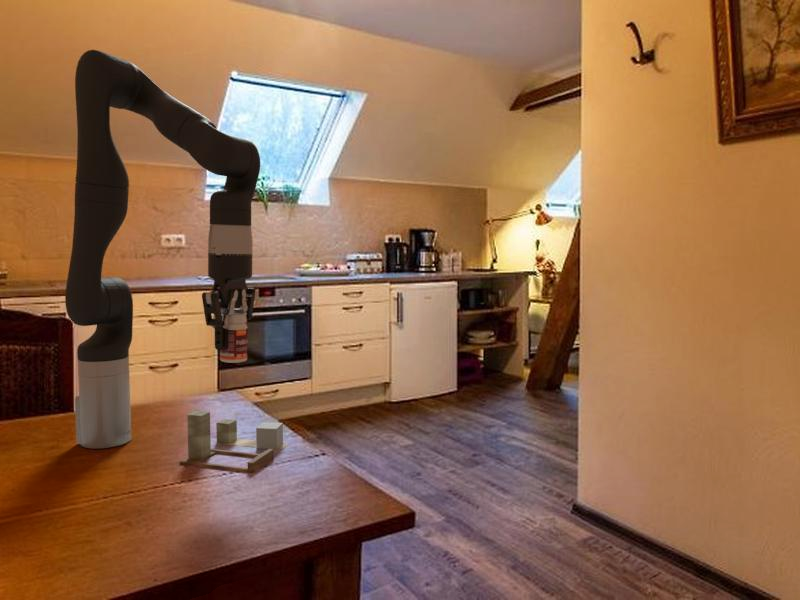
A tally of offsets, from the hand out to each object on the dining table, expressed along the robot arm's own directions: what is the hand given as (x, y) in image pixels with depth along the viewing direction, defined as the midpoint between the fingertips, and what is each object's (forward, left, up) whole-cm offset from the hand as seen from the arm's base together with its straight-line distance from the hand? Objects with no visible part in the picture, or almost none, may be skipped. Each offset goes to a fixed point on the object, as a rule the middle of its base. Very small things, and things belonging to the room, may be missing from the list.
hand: (229, 346), depth 108 cm
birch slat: (-1, +9, -22) cm, 24 cm away
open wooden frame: (0, -1, -22) cm, 22 cm away
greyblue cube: (+3, +9, -21) cm, 23 cm away
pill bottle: (+1, 0, -3) cm, 3 cm away
